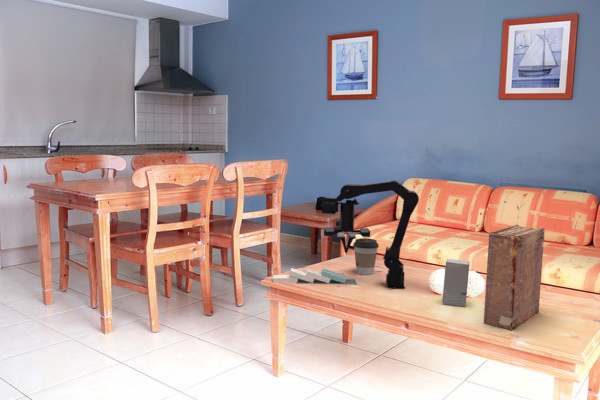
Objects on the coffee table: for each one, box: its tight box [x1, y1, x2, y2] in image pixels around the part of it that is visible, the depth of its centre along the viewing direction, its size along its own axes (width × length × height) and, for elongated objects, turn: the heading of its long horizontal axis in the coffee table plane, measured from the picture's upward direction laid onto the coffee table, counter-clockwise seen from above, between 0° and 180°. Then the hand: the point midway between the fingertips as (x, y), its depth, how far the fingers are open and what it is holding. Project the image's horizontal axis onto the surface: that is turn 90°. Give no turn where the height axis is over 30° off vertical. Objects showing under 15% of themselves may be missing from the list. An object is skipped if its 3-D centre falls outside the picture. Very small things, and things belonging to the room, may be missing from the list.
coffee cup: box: [352, 237, 379, 276], centre depth 232 cm, size 11×11×15 cm
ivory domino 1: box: [289, 267, 314, 283], centre depth 217 cm, size 2×5×10 cm
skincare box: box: [441, 258, 471, 308], centre depth 191 cm, size 8×7×16 cm
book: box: [483, 224, 545, 331], centre depth 176 cm, size 25×9×30 cm, turn 138°
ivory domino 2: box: [305, 268, 330, 283], centre depth 217 cm, size 2×5×10 cm
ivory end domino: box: [272, 274, 298, 284], centre depth 217 cm, size 2×5×10 cm
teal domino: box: [320, 268, 347, 285], centre depth 217 cm, size 2×5×10 cm
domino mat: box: [295, 278, 358, 286], centre depth 218 cm, size 25×8×1 cm, turn 90°
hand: (345, 252), depth 216 cm, fingers closed
